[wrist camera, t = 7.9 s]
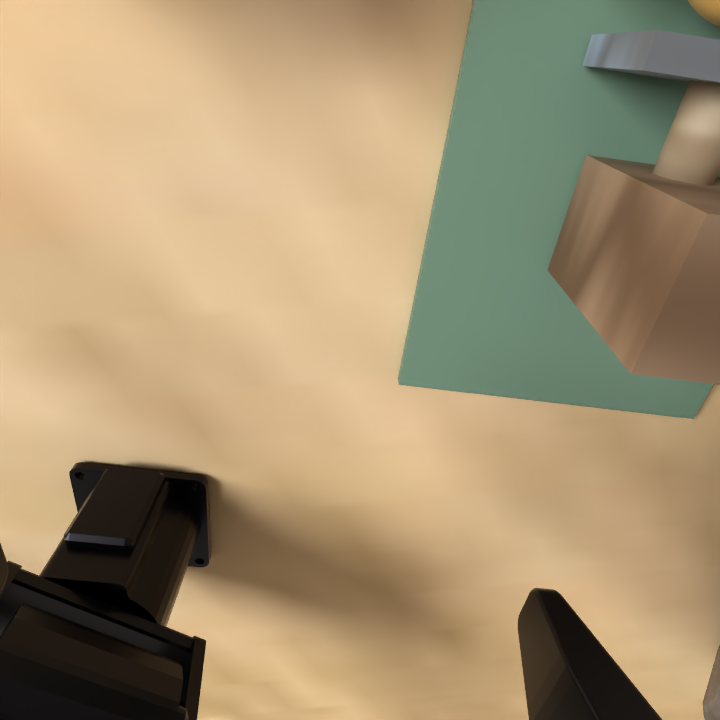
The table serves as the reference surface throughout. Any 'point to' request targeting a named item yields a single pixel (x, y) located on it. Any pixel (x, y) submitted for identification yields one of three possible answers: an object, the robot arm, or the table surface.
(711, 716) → the bowl
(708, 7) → the ball
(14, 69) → the table surface
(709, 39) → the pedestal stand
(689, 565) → the table surface
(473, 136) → the pitch
